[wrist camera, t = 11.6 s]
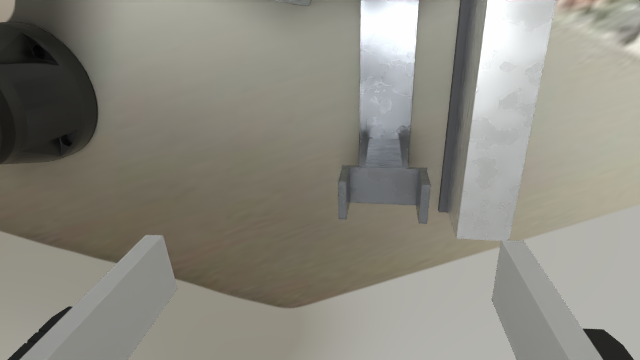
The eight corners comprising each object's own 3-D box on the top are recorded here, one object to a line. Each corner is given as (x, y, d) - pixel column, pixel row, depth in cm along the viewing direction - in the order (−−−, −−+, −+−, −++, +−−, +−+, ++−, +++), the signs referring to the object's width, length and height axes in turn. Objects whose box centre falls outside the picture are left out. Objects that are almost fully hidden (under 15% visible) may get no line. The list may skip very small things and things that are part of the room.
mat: (438, 209, 40) (438, 212, 40) (470, -90, 30) (471, -92, 29) (500, 212, 39) (502, 214, 39) (556, -97, 29) (560, -99, 28)
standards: (350, 168, 40) (338, 223, 29) (351, -47, 32) (334, -80, 22) (415, 170, 39) (427, 228, 28) (432, -52, 31) (457, -89, 20)
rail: (446, 208, 40) (456, 238, 34) (480, -85, 29) (502, -109, 24) (491, 210, 39) (508, 241, 34) (542, -90, 29) (579, -115, 23)
